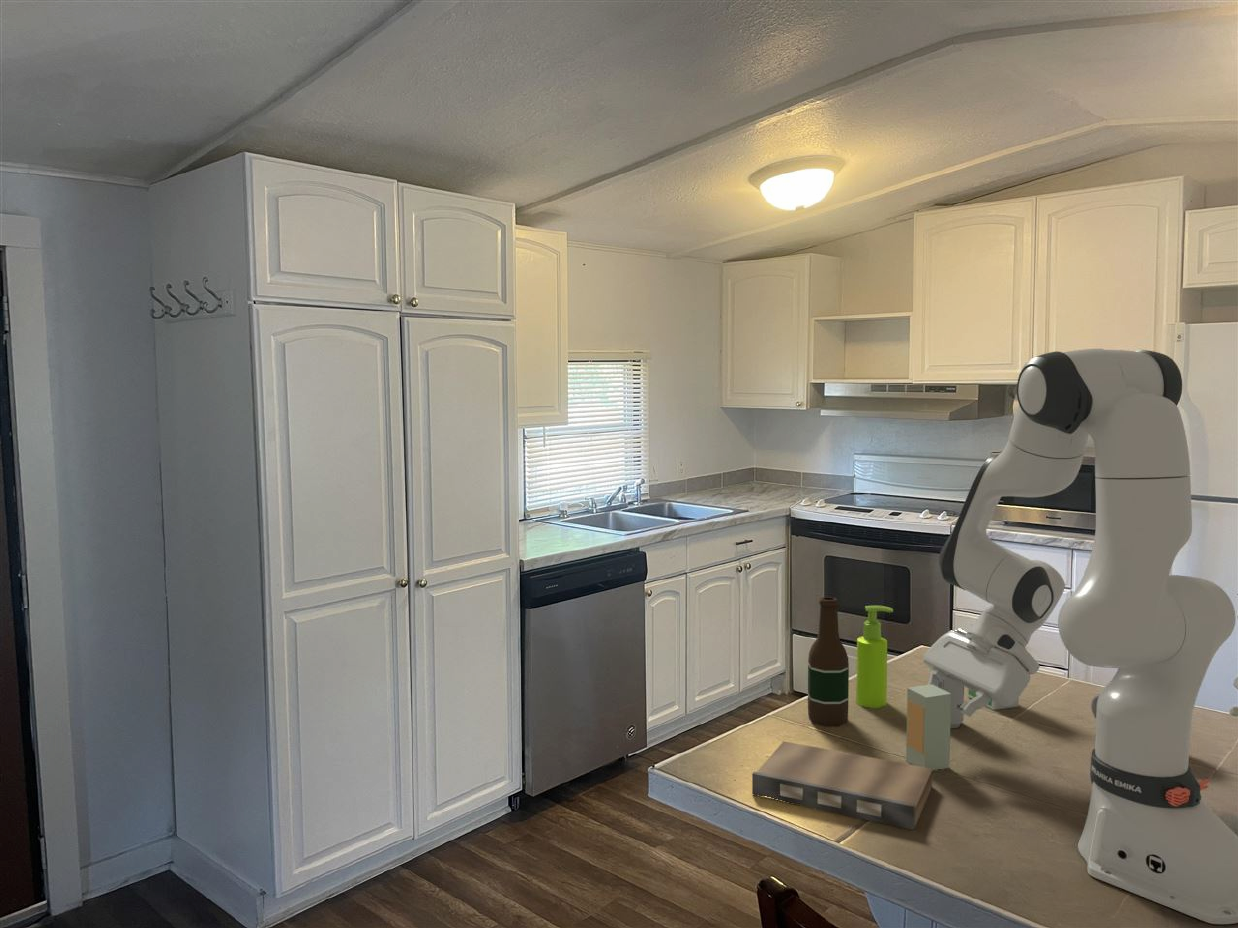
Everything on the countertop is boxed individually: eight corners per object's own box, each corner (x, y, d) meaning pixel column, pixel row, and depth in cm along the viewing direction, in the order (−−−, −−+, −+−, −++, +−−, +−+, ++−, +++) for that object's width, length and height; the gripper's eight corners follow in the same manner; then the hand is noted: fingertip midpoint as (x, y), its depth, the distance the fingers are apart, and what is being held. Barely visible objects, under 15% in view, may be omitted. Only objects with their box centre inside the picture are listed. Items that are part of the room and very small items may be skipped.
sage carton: (949, 767, 155) (951, 693, 153) (923, 772, 153) (925, 697, 152) (930, 756, 159) (931, 684, 158) (905, 760, 158) (906, 687, 156)
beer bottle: (856, 723, 174) (858, 600, 172) (822, 729, 172) (823, 605, 169) (832, 709, 182) (834, 591, 179) (799, 715, 179) (800, 595, 176)
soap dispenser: (892, 709, 181) (894, 611, 179) (857, 706, 183) (858, 609, 181) (890, 698, 187) (891, 603, 185) (855, 696, 189) (856, 602, 187)
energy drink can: (966, 730, 170) (968, 652, 169) (932, 728, 171) (934, 651, 170) (959, 718, 176) (961, 642, 175) (927, 716, 177) (928, 641, 176)
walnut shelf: (932, 786, 148) (932, 765, 147) (913, 830, 134) (913, 807, 133) (783, 757, 160) (783, 737, 159) (751, 795, 145) (751, 774, 145)
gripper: (944, 615, 167) (898, 673, 165) (1026, 647, 148) (975, 713, 146) (963, 636, 169) (918, 693, 167) (1047, 670, 150) (997, 736, 148)
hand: (945, 703), depth 156 cm, fingers open, 8 cm apart
